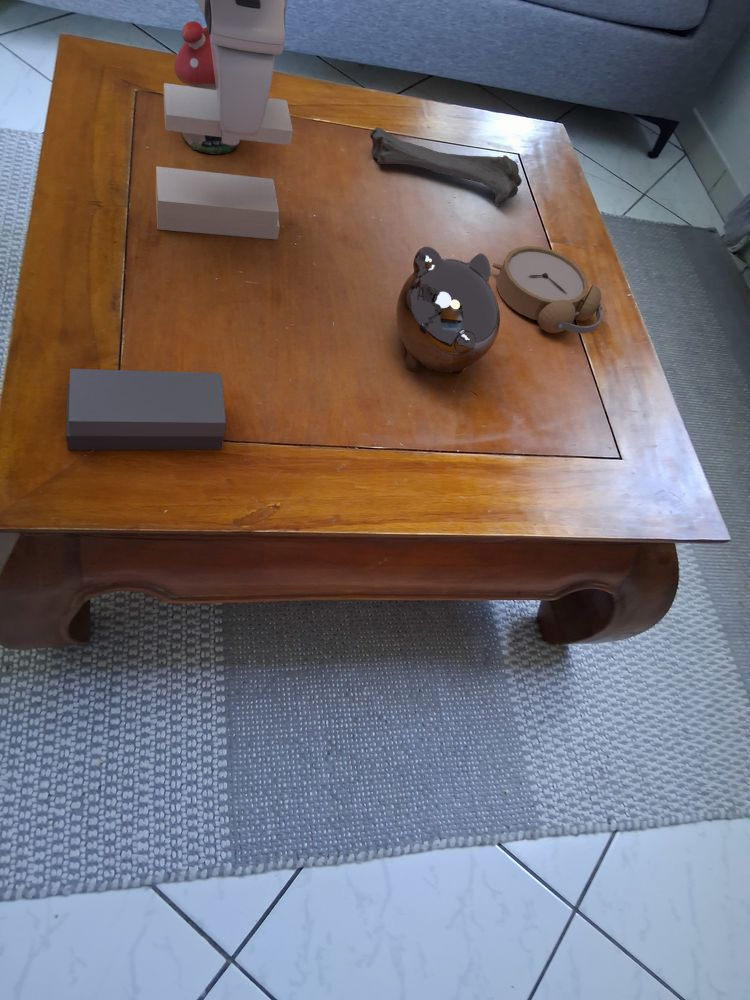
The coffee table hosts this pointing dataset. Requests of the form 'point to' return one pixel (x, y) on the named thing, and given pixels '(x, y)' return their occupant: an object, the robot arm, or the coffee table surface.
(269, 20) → the robot arm
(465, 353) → the piggy bank
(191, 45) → the decorative ornament
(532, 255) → the alarm clock
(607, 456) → the coffee table surface
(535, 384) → the coffee table surface
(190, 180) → the grey oblong block
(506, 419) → the coffee table surface
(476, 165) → the bone
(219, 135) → the pale grey rectangular block
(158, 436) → the dark grey box
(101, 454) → the coffee table surface
